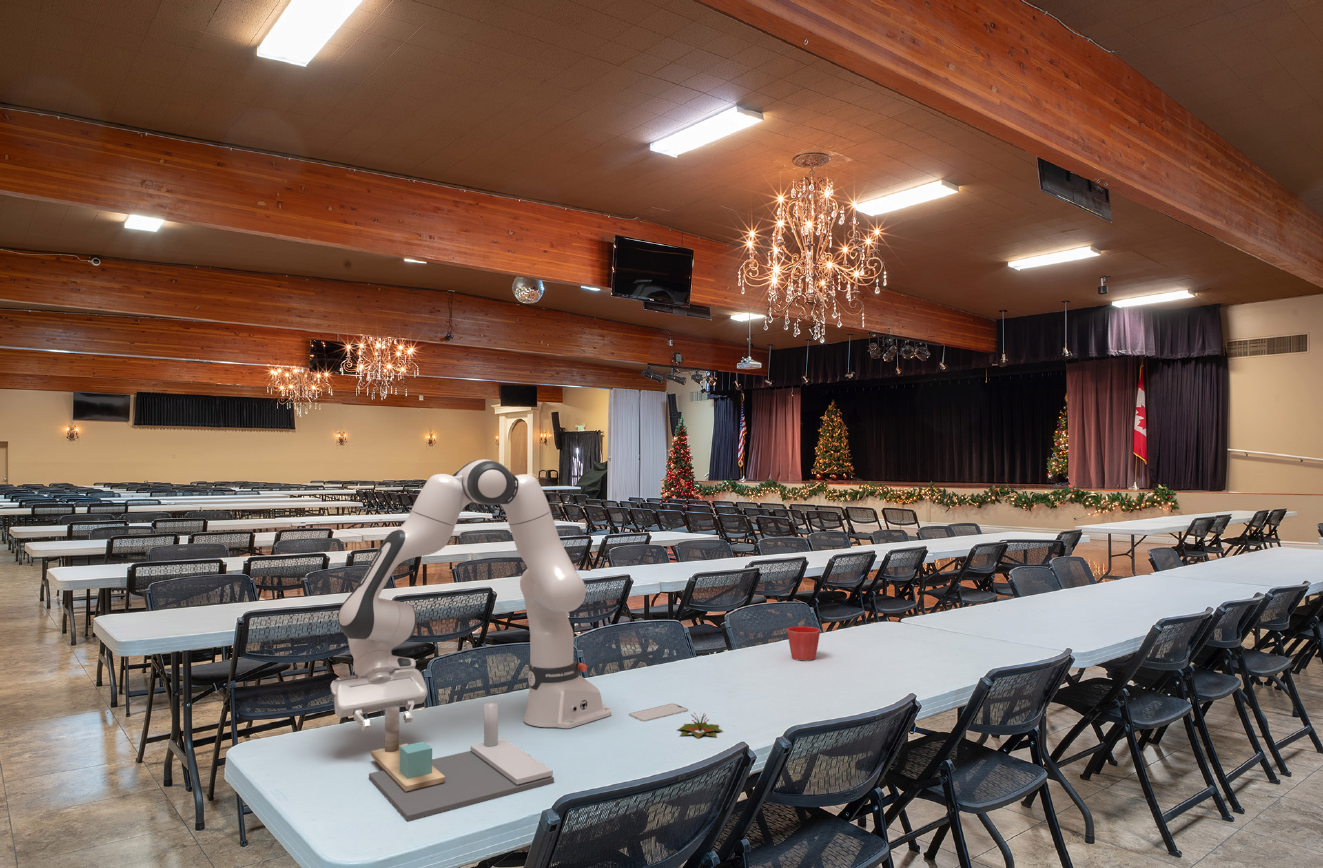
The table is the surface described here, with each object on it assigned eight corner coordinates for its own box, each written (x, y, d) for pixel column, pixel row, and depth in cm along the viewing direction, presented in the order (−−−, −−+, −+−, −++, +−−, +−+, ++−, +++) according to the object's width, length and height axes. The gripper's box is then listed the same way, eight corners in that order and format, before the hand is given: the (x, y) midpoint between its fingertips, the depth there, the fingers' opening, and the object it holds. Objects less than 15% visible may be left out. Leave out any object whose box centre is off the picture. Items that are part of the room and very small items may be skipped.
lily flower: (722, 742, 188) (722, 722, 188) (672, 740, 189) (672, 720, 189) (725, 725, 199) (725, 707, 200) (678, 724, 201) (678, 705, 201)
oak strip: (407, 747, 180) (407, 703, 180) (445, 781, 161) (445, 731, 161) (370, 755, 175) (371, 709, 176) (405, 791, 156) (406, 739, 156)
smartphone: (627, 713, 207) (672, 703, 216) (627, 716, 207) (672, 705, 216) (643, 721, 202) (689, 709, 210) (643, 723, 201) (689, 712, 210)
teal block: (423, 765, 167) (423, 741, 167) (432, 772, 163) (432, 748, 163) (399, 771, 164) (399, 746, 164) (407, 778, 160) (407, 753, 160)
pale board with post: (503, 742, 183) (503, 698, 183) (552, 775, 164) (552, 725, 164) (470, 750, 178) (470, 704, 179) (516, 784, 159) (516, 733, 159)
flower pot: (801, 653, 274) (800, 624, 275) (826, 658, 266) (826, 629, 266) (780, 657, 268) (780, 628, 268) (806, 663, 259) (805, 633, 260)
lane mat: (502, 747, 183) (502, 743, 183) (553, 782, 163) (553, 777, 163) (368, 778, 166) (368, 773, 166) (407, 821, 146) (407, 815, 146)
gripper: (331, 671, 179) (342, 726, 171) (421, 658, 191) (435, 709, 183) (326, 686, 183) (336, 742, 174) (414, 673, 195) (428, 724, 186)
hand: (388, 725), depth 179 cm, fingers open, 8 cm apart
